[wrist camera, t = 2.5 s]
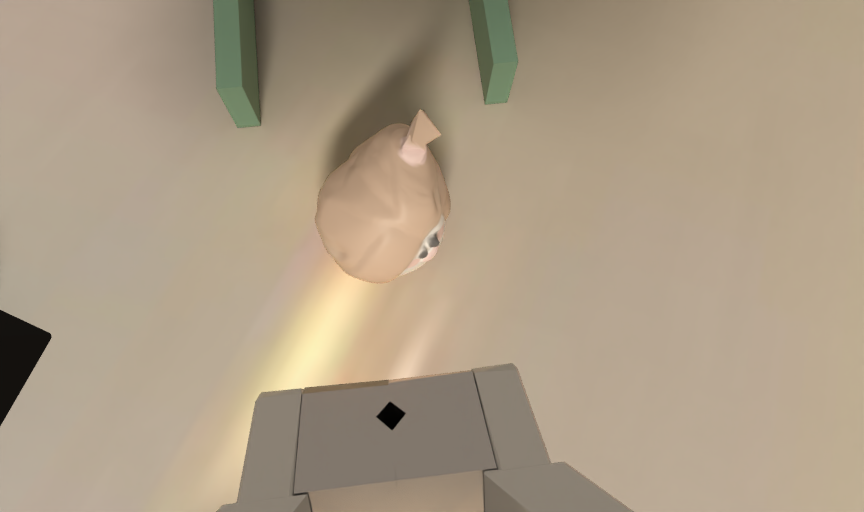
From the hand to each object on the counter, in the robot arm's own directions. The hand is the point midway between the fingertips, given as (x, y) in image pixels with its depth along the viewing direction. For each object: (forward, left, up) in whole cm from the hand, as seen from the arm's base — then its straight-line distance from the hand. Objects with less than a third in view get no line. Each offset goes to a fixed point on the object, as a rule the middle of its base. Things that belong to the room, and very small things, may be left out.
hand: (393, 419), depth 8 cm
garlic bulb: (-5, -9, -24) cm, 27 cm away
